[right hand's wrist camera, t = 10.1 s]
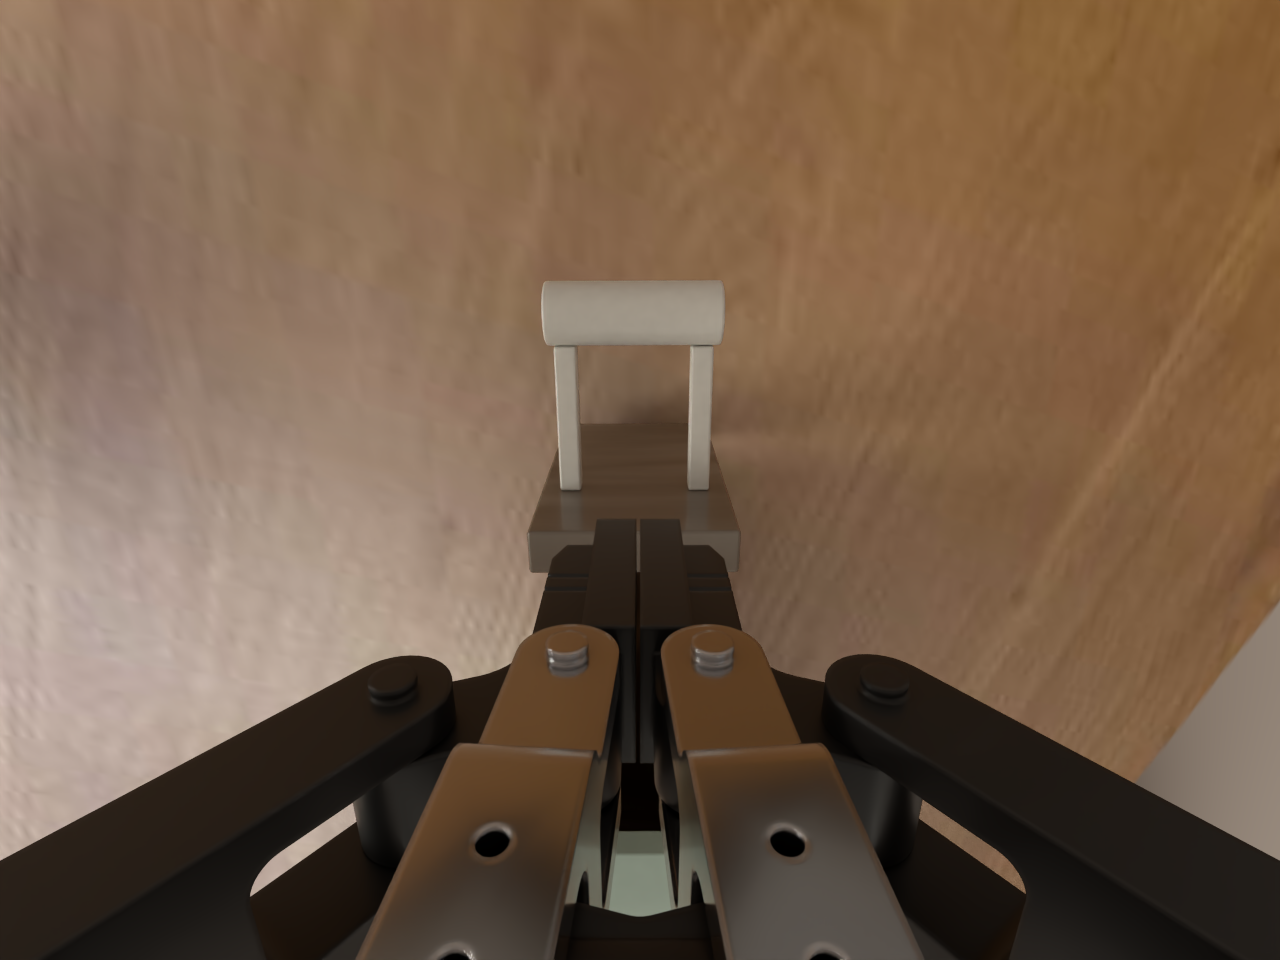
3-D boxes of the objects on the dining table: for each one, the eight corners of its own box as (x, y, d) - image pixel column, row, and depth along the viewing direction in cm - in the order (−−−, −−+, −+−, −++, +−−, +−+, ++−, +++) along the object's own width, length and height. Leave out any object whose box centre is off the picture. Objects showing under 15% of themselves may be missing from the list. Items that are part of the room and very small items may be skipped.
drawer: (558, 265, 24) (509, 292, 15) (711, 264, 24) (754, 291, 15) (582, 803, 33) (560, 1025, 24) (693, 803, 33) (714, 1025, 24)
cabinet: (563, 629, 31) (521, 855, 20) (710, 629, 31) (749, 854, 20) (579, 941, 38) (555, 1230, 27) (698, 941, 38) (721, 1230, 27)
